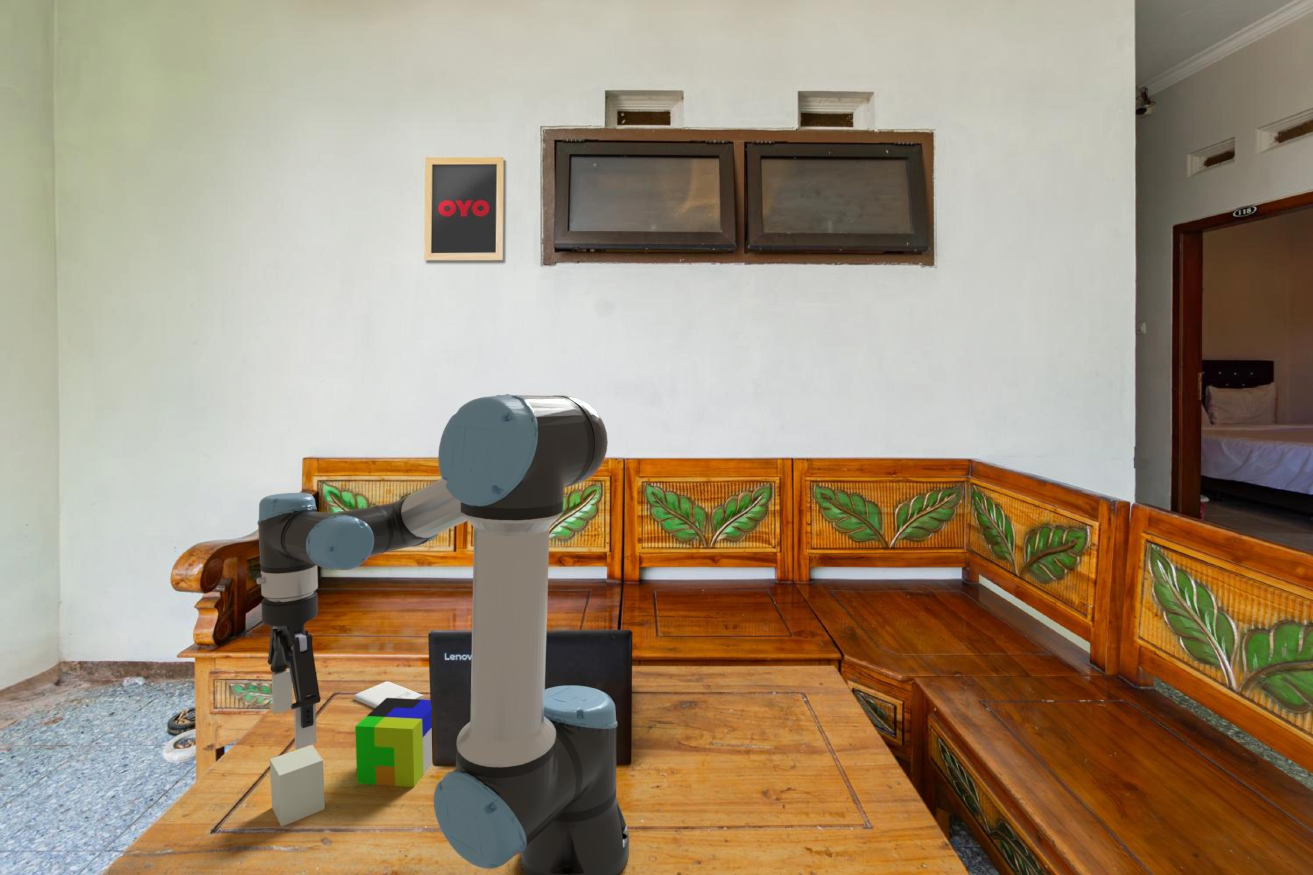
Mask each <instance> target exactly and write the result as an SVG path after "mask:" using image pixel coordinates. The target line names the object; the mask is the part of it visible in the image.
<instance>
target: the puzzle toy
mask: <svg viewBox="0 0 1313 875" xmlns="http://www.w3.org/2000/svg"><path fill="white" fill-rule="evenodd" d="M431 700H432V699H402V698H386V699H385V700H384V701H383V702H381V703H380V704H379V705H378V706H377V707H376V708H373V709H372V710H371V711H370V712H369V713H368V714H367V715H366V716H365V717H364V718H362V720H360V721H359V722H358V723H357V724H356V725H355V726H354V728H355V755H356V756H355V757H356V783H357V784H361V785H373V786H374V785H376V786H391V787H394V786H395V787H407V788H408V787H409V788H415V787H416V785H417V784H418V783H419V782H420V781H421V780H422V779H423V777H424V775H425V774H426V773H427V772H428V770H429V769H430V768H431V766H432V765H433V764H432V706H431ZM429 767H430V768H429ZM426 771H427V772H426ZM418 781H419V782H418Z"/></svg>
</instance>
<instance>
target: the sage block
mask: <svg viewBox="0 0 1313 875" xmlns="http://www.w3.org/2000/svg"><path fill="white" fill-rule="evenodd" d="M269 767H270V773H269V774H270V791H271V792H270V793H271V794H270V796H271V809H272V810H273V812H274V815H275V817H276V818H277V821H278V823H279V824H280V827H284V826H287V825H290V824H291V823H295V822H297V821H299V820H302V819H304V818H306V817H309V816H311V815H314V814H315V813H316V814H317V813H318V812H321V811H324V810H325V809H326V808H325V807H326V806H325V781H324V779H325V776H324V759H323V758H322V756H321V755H320V754H319V752H318V751H317V750H316V748H315V746H314V744H312V745H309V746H306V747H303V748H300V749H297V750H296V749H295V750H293V751H288V752H287V753H283V754H281V755H277V756H274V757H272V758H270V759H269Z"/></svg>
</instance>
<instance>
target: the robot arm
mask: <svg viewBox="0 0 1313 875" xmlns="http://www.w3.org/2000/svg"><path fill="white" fill-rule="evenodd" d="M608 443H609V442H608V432H607V429H606V426H605V423H604V421H603V419H602V418H601V416H600V415H599V413H598V412H597V410H596V409H594V408H593V407H592V406H591V405H589V404H588V403H587V402H585V401H583V400H581V399H579V398H576V397H573V396H570V395H569V396H568V395H520V394H519V395H517V394H516V395H515V394H509V393H506V394H497V395H491V396H483V397H478V398H475V399H472V400H469V401H467V402H466V403H464V404H463V405H461V407H459V409H458V410H457V411H456V412H455V414H453V415H452V416H451V417H450V418H449V419H448V422H447V423H446V425H445V427H444V430H443V431H442V435H441V437H440V441H439V447H438V454H437V455H438V456H437V458H438V468H439V473H440V477H441V478H440V479H438V480H435V482H432V483H430V484H428V485H425V486H424V487H423V488H421V489H419V490H416V491H415V492H412V493H410V495H407V496H405V497H402V498H401V499H399V500H397V501H394V502H390V503H386V504H380V505H375V506H374V505H373V506H369V507H364V508H363V507H362V508H358V509H357V508H356V509H350V510H345V511H344V510H343V511H339V512H333V513H332V512H329V513H328V512H321V511H320V512H319V511H317V506H316V499H315V498H314V496H313V495H312V494H311V493H306V492H285V493H275V494H271V495H270V494H269V495H268V496H265V497H263V498H262V499H261V500H260V502H259V504H258V520H257V526H258V543H259V546H258V547H259V564H260V575H261V577H257V578H256V584H257V585H260V588H261V589H260V590H261V596H262V597H263V599H261V622H262V623H263V624H264V625H266V626H268V627H270V628H271V629H270V638H269V648H268V657H267V664H268V665H269V666H270V671H271V692H272V713H273V715H278V714H281V713H284V712H287V711H291V710H293V719H294V721H293V724H294V749H295V750H298V749H301V748H304V747H307V746H310V745H315V744H317V743H318V742H317V711H316V710H317V708H316V706H317V704H319V703H321V694H320V689H319V682H318V681H319V680H318V674H317V669H316V662H315V655H314V647H313V640H314V639H313V636H312V634H311V633H310V634H309V631H308V630H307V629H306V628H305V624H306V623H307V622H309V621H311V620H313V619H314V618H316V617H317V615H318V614H319V597H318V596H319V594H318V593H317V591H316V590H317V589H318V587H319V582H318V580H319V579H318V578H319V574H318V567H320V568H323V569H325V570H327V569H329V570H331V571H332V570H333V571H334V570H335V571H337V570H338V571H349V570H353V569H356V568H358V567H360V566H361V565H362V564H363V563H364V562H366V561H367V560H368V558H370V557H374V556H375V557H376V556H378V555H382V554H384V553H388V552H389V553H390V552H392V551H396V550H401V549H405V548H409V547H418V546H420V545H424V544H426V543H428V542H431V541H434V540H435V539H436V538H438V537H439V534H440V533H442V532H444V531H447V530H449V529H452V528H454V527H456V526H459V525H461V524H463V523H465V522H469V524H471V526H472V527H473V558H472V559H473V568H472V569H473V570H472V571H473V573H472V613H471V614H472V617H471V620H472V623H471V669H470V671H471V672H470V673H471V676H470V678H471V679H470V680H471V681H470V682H471V683H470V721H469V722H468V723H466V724H465V726H463V727H462V728H461V730H460V731H459V732H458V733H459V734H458V735H457V737H456V756H455V760H456V762H455V767H454V769H453V771H449V772H447V773H446V774H444V776H443V777H442V779H441V780H440V781H439V782H438V783H437V785H436V786H435V790H434V792H433V793H434V794H433V808H434V810H433V811H434V815H435V817H436V820H437V823H438V827H439V829H440V830H441V832H442V834H443V836H444V838H445V839H446V840H447V842H448V844H449V846H451V848H452V849H453V850H454V851H455V853H456V854H458V855H459V856H460V857H461V858H462V859H464V860H465V861H467V862H468V863H469V864H470V865H471V864H472V865H473V866H474V867H478V868H481V869H487V870H490V869H493V870H494V869H497V868H499V867H502V866H504V865H505V864H506V863H508V862H509V861H511V860H512V859H513V858H514V857H515V856H516V855H518V854H520V863H521V870H522V871H523V874H524V875H619V874H620V873H622V871H623V870H624V868H625V866H626V865H627V863H628V861H629V857H630V836H629V835H630V834H629V829H628V826H627V823H626V819H625V818H624V815H623V812H622V809H621V806H620V804H619V800H618V798H617V797H618V796H617V727H618V721H617V715H616V704H615V702H614V701H613V698H611V696H610V695H608V694H607V693H606V692H604V691H601V690H599V689H597V688H593V687H590V686H584V685H558V686H552V687H549V688H546V658H547V657H546V656H547V655H546V654H547V628H548V627H547V625H548V623H547V622H548V621H547V619H548V592H549V591H548V588H549V558H550V556H549V555H550V528H551V526H552V525H553V523H555V522H556V521H557V520H558V519H560V517H561V516H562V515H563V514H564V499H565V492H564V491H565V488H568V487H572V486H573V487H574V486H575V485H579V484H581V483H583V482H585V481H587V480H588V479H590V478H591V477H593V476H594V474H596V473H597V471H598V470H600V468H601V466H602V465H603V463H604V461H605V459H606V455H607V451H608ZM293 693H294V699H295V702H293V701H294V700H293Z"/></svg>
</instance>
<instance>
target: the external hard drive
mask: <svg viewBox="0 0 1313 875" xmlns="http://www.w3.org/2000/svg"><path fill="white" fill-rule="evenodd" d="M353 698H354V701H357V702H359V703H362V704H364V705H367V706H368V707H370V708H373V709H375V708H376V707H377V706H378V705H379V704H380V703H381V702H383V701H384V700H385V699H386V698H402V699H423V700H425V695H424V694H421V693H418V692H416V691H414V690H411V689H409V688H406V687H404V686H401V685H400V684H399V685H398V684H395V683H393V682H391V681H384V682H382V683H380V684H377V685H374V686H372V687H370V688H367V689H364V690H363V691H360V692H358V693H356V694H354V696H353Z"/></svg>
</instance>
